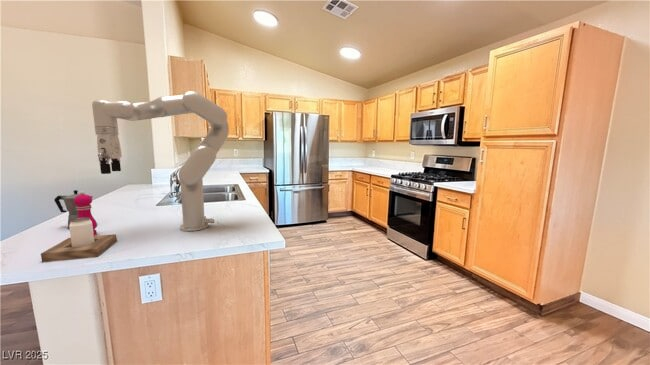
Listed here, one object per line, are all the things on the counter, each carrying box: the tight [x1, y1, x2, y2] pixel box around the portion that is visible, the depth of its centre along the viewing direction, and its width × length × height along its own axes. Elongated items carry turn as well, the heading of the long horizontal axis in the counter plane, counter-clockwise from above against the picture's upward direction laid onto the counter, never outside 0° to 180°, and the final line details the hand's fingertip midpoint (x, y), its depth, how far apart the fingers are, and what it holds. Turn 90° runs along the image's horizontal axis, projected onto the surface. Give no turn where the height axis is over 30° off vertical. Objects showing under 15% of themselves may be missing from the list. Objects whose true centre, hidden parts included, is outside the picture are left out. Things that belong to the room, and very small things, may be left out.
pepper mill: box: [74, 190, 98, 236], centre depth 116 cm, size 7×7×20 cm
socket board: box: [40, 233, 118, 263], centre depth 102 cm, size 16×16×3 cm
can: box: [69, 218, 95, 247], centre depth 102 cm, size 6×6×12 cm
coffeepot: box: [54, 189, 93, 230], centre depth 128 cm, size 15×9×18 cm, turn 103°
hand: (111, 172), depth 114 cm, fingers open, 9 cm apart
